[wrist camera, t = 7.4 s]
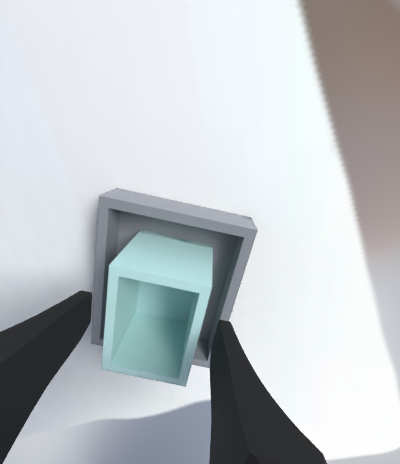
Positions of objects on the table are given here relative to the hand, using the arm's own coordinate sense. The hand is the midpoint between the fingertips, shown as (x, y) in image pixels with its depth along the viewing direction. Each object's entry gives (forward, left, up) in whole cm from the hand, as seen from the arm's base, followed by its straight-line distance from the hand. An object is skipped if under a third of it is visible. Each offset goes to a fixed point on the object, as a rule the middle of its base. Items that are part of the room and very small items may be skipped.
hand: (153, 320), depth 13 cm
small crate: (0, 0, -4) cm, 4 cm away
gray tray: (0, 0, -5) cm, 5 cm away
